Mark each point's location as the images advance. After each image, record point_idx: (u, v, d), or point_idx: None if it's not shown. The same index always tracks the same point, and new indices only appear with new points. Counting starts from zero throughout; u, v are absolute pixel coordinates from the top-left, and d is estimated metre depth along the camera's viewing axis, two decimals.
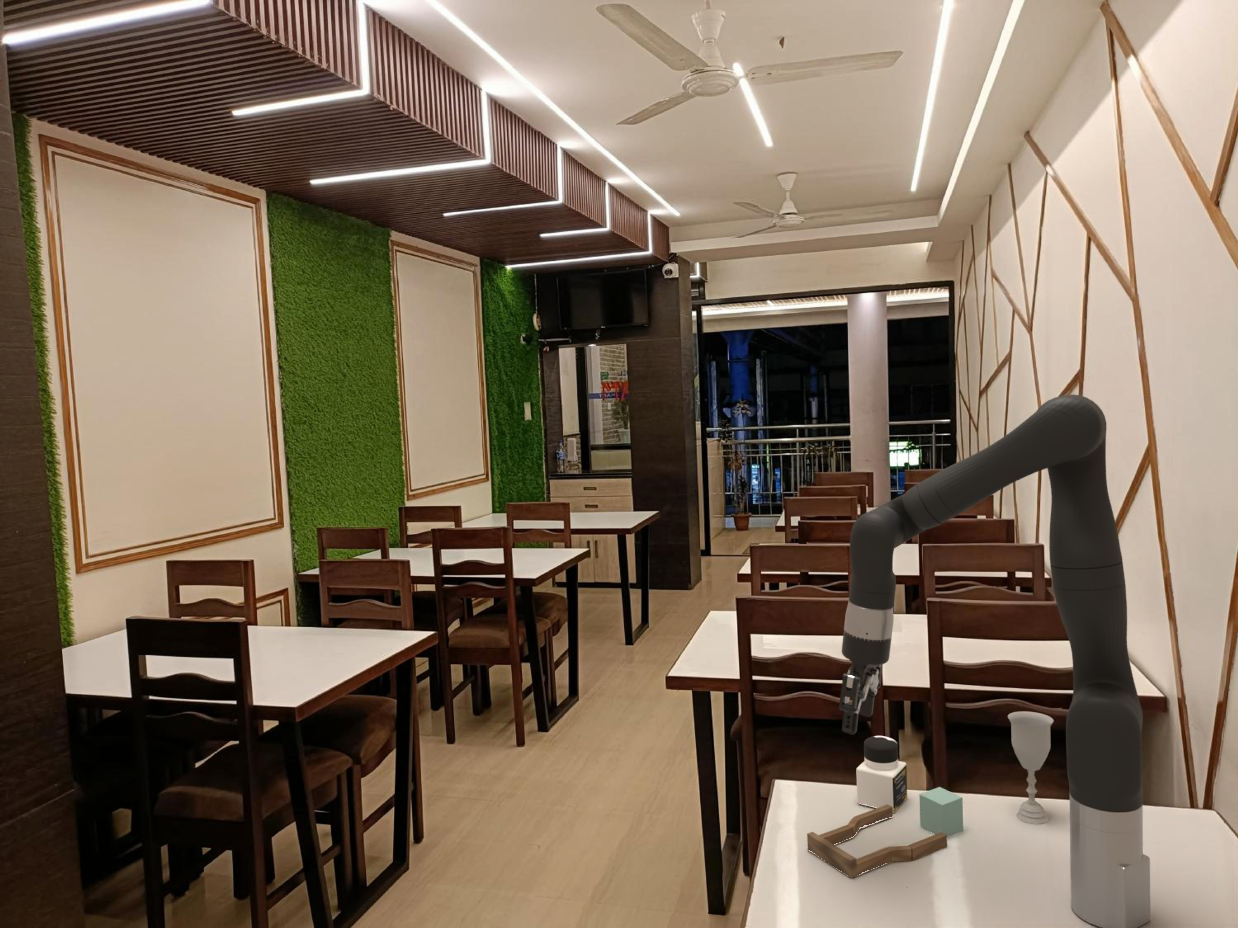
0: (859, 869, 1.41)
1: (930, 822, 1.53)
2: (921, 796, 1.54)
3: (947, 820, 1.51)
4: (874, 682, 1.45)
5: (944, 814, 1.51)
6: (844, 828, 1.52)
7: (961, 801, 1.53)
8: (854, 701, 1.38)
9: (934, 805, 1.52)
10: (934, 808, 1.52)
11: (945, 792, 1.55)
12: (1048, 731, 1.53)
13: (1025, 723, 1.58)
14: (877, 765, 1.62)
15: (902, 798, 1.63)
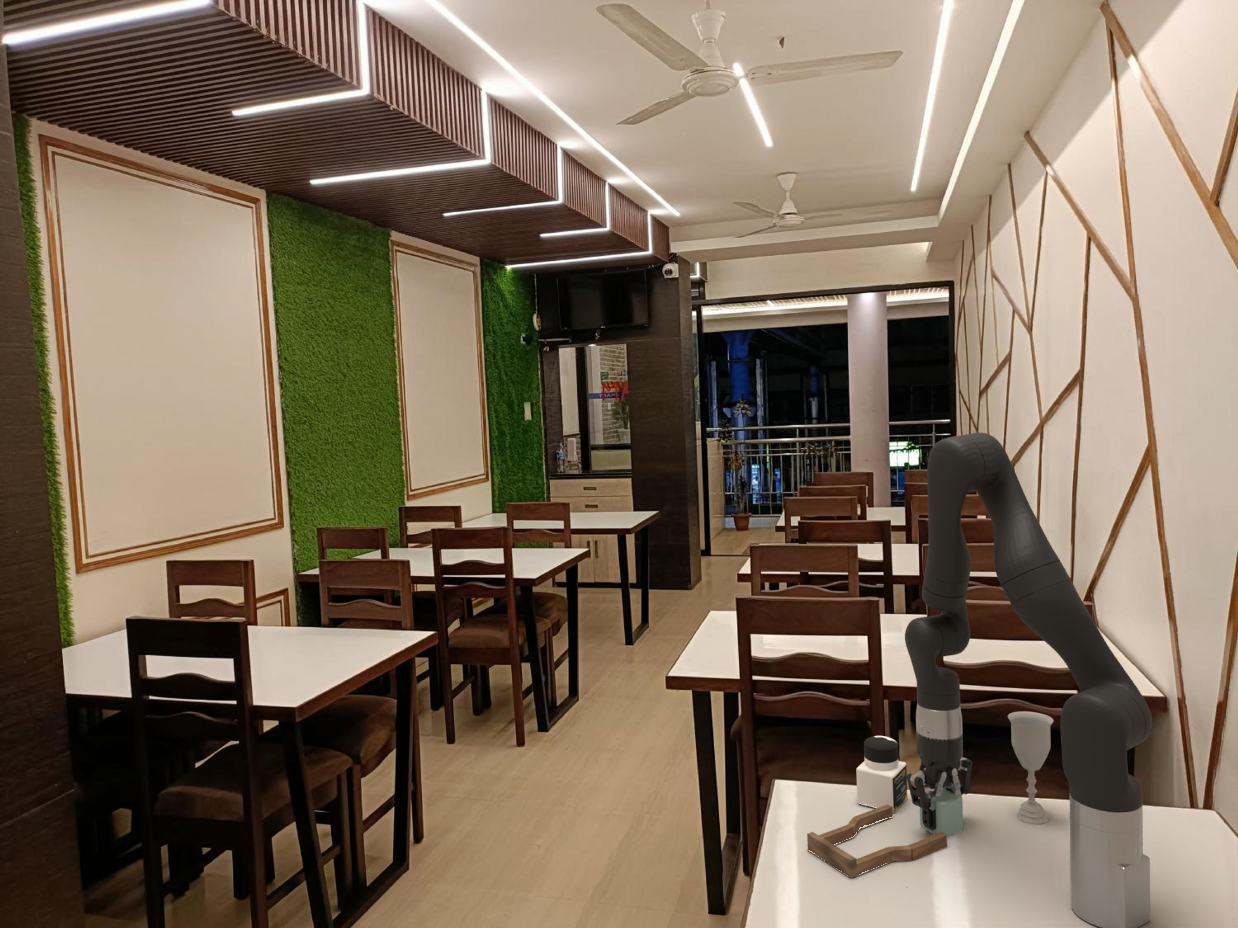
0: (859, 869, 1.41)
1: None
2: None
3: (947, 820, 1.51)
4: (952, 782, 1.53)
5: (944, 814, 1.51)
6: (844, 828, 1.52)
7: (961, 801, 1.53)
8: (921, 799, 1.50)
9: None
10: None
11: (945, 792, 1.55)
12: (1048, 731, 1.53)
13: (1025, 723, 1.58)
14: (877, 765, 1.62)
15: (902, 798, 1.63)
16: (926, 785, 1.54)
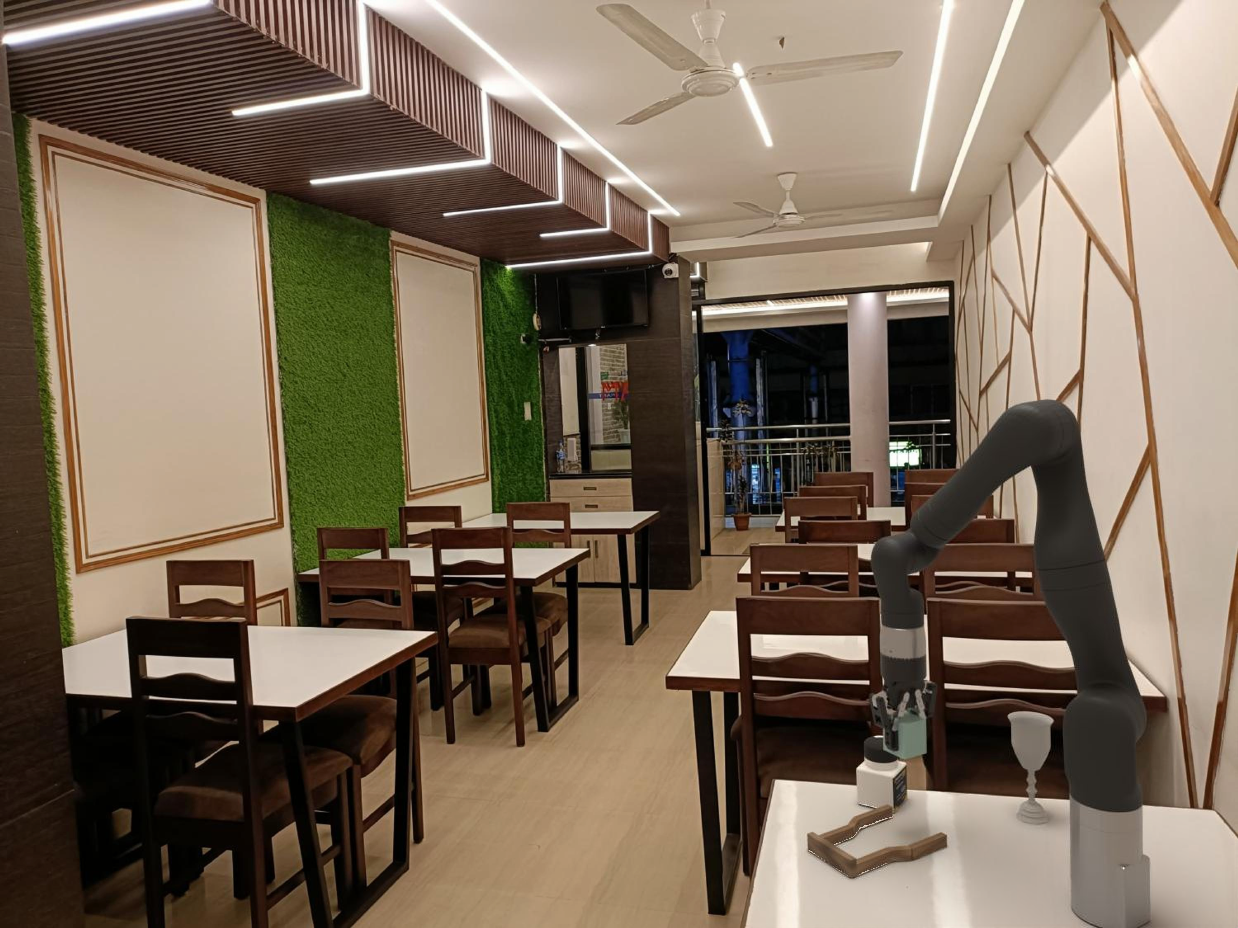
0: (859, 869, 1.41)
1: None
2: None
3: (909, 741, 1.49)
4: (916, 704, 1.51)
5: (906, 734, 1.49)
6: (844, 828, 1.52)
7: (924, 723, 1.50)
8: (882, 719, 1.48)
9: None
10: None
11: (909, 714, 1.53)
12: (1048, 731, 1.53)
13: (1025, 723, 1.58)
14: (877, 765, 1.62)
15: (902, 798, 1.63)
16: (889, 707, 1.51)
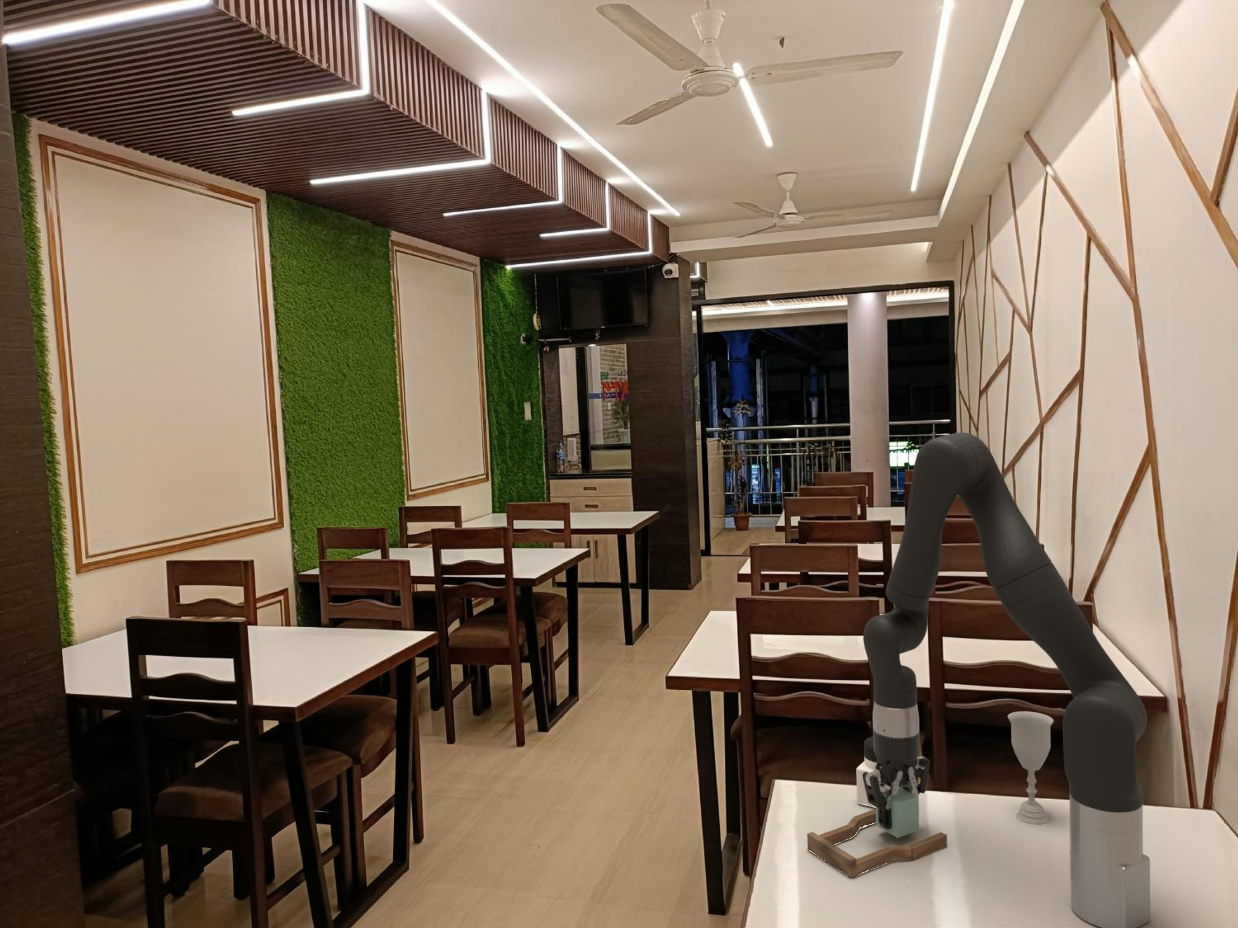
0: (859, 869, 1.41)
1: None
2: None
3: (902, 819, 1.49)
4: (909, 781, 1.51)
5: (900, 813, 1.49)
6: (844, 828, 1.52)
7: (917, 800, 1.51)
8: (876, 798, 1.48)
9: None
10: None
11: (901, 791, 1.53)
12: (1048, 731, 1.53)
13: (1025, 723, 1.58)
14: None
15: None
16: (882, 784, 1.52)
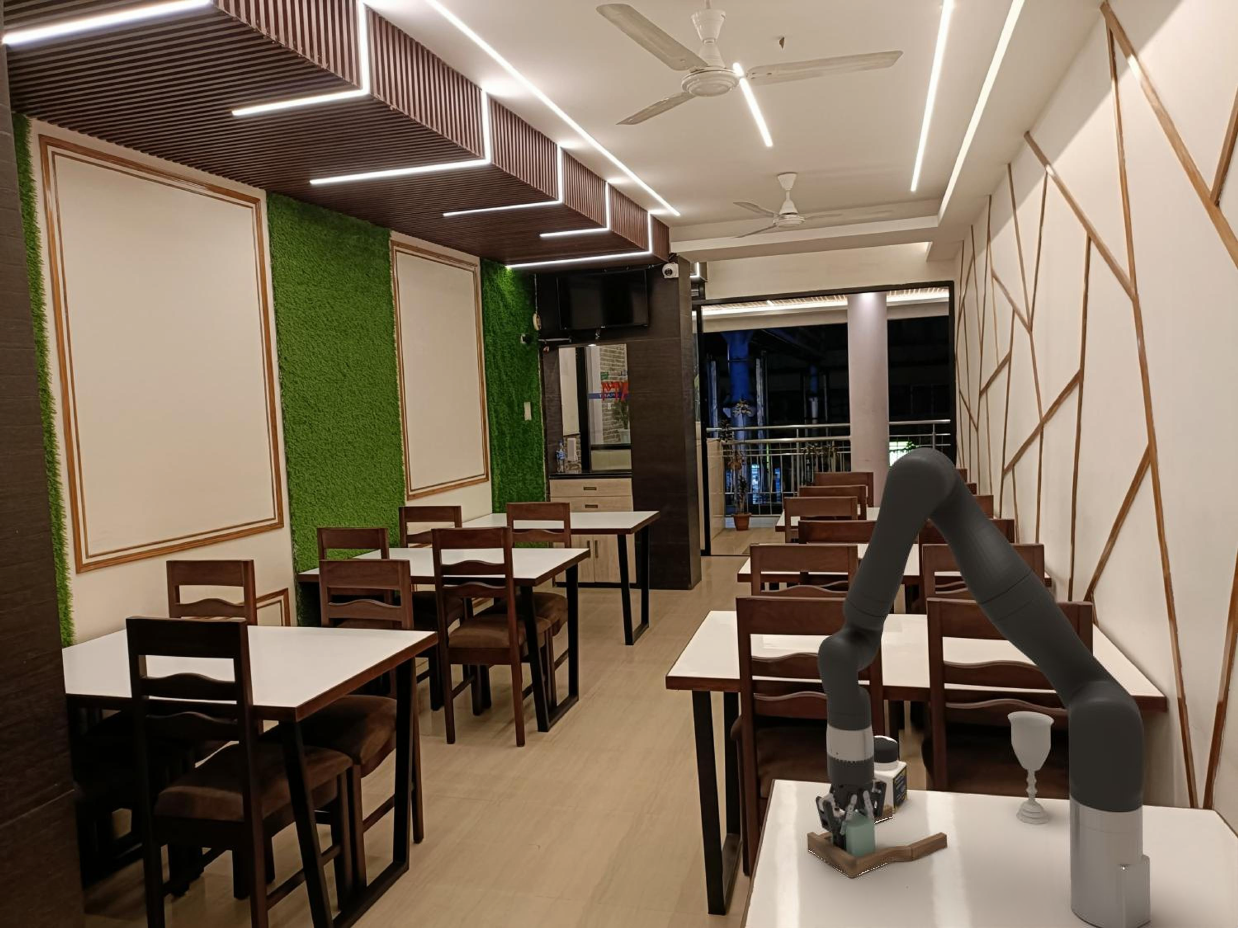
0: (859, 869, 1.41)
1: None
2: None
3: (857, 845, 1.44)
4: (864, 805, 1.46)
5: (854, 838, 1.44)
6: None
7: (872, 825, 1.46)
8: (829, 824, 1.43)
9: None
10: None
11: (857, 815, 1.48)
12: (1048, 731, 1.53)
13: (1025, 723, 1.58)
14: (877, 765, 1.62)
15: (902, 798, 1.63)
16: (837, 808, 1.47)
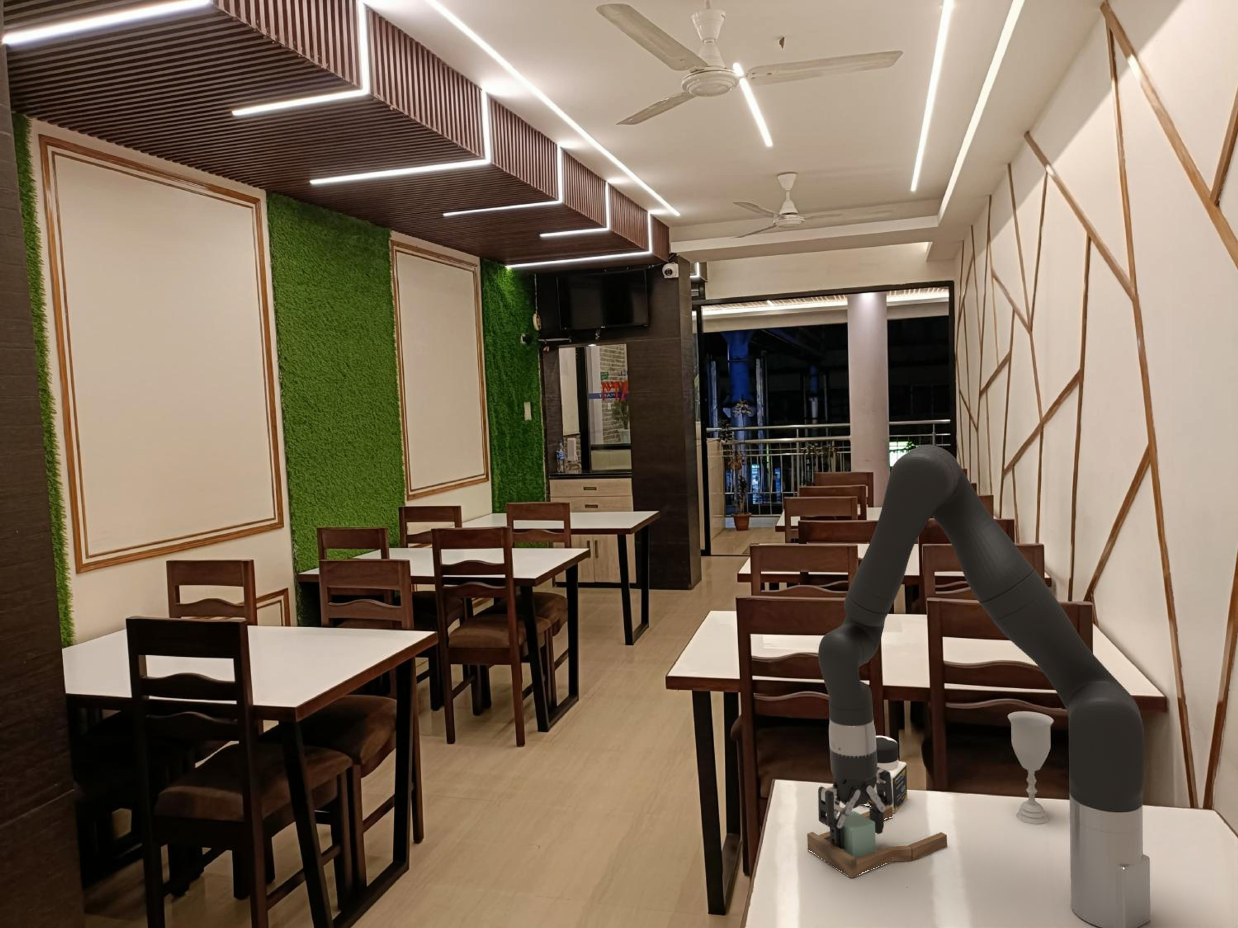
0: (859, 869, 1.41)
1: None
2: None
3: (858, 846, 1.44)
4: (871, 798, 1.46)
5: (855, 840, 1.44)
6: None
7: (873, 826, 1.46)
8: (828, 815, 1.43)
9: (844, 831, 1.45)
10: (845, 834, 1.45)
11: (858, 816, 1.48)
12: (1048, 731, 1.53)
13: (1025, 723, 1.58)
14: (877, 765, 1.62)
15: (902, 798, 1.63)
16: (837, 803, 1.46)
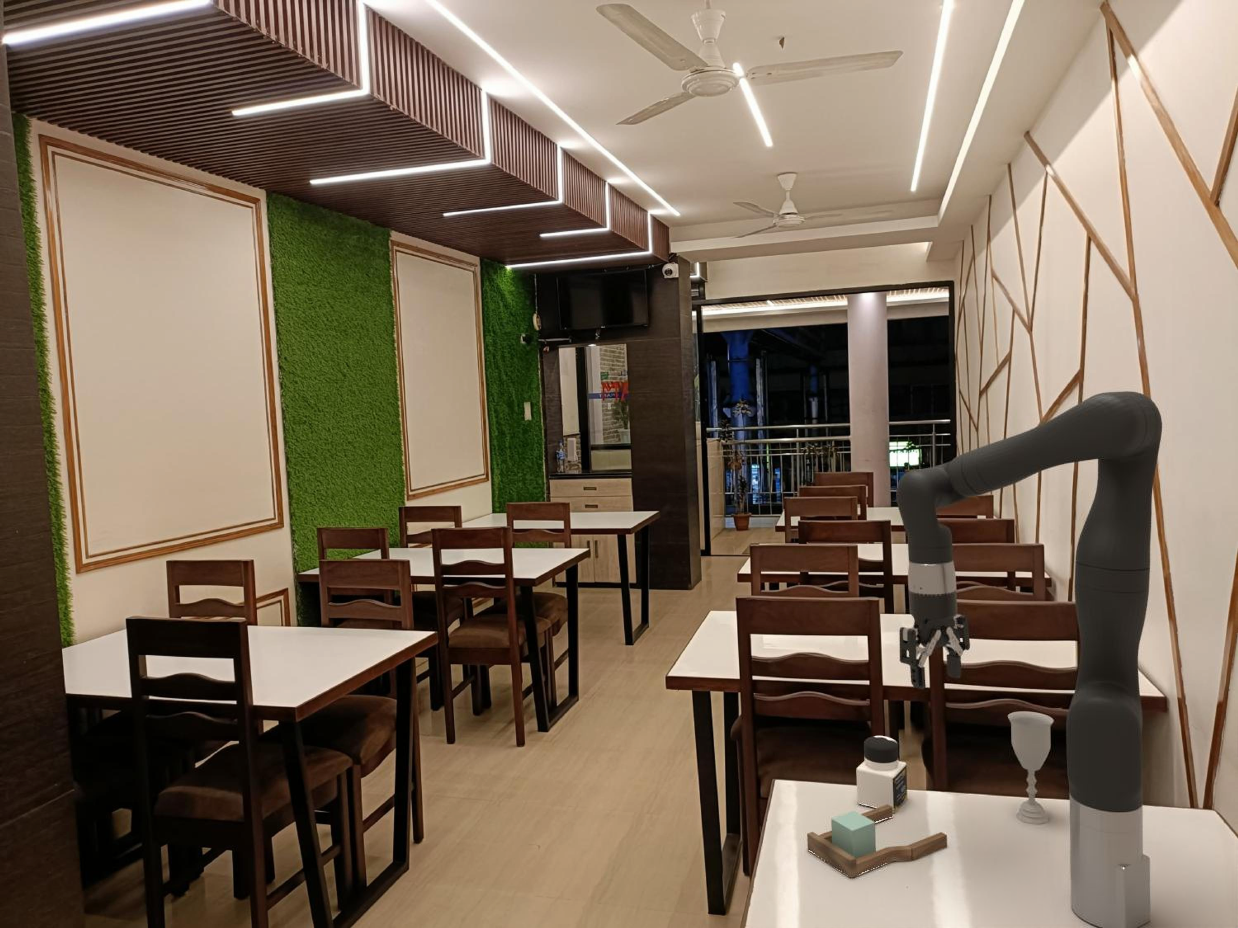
0: (859, 869, 1.41)
1: (841, 847, 1.46)
2: (833, 820, 1.48)
3: (858, 846, 1.44)
4: (950, 640, 1.48)
5: (855, 840, 1.44)
6: None
7: (873, 826, 1.46)
8: (910, 653, 1.44)
9: (844, 831, 1.45)
10: (845, 834, 1.45)
11: (858, 816, 1.48)
12: (1048, 731, 1.53)
13: (1025, 723, 1.58)
14: (877, 765, 1.62)
15: (902, 798, 1.63)
16: (917, 645, 1.47)
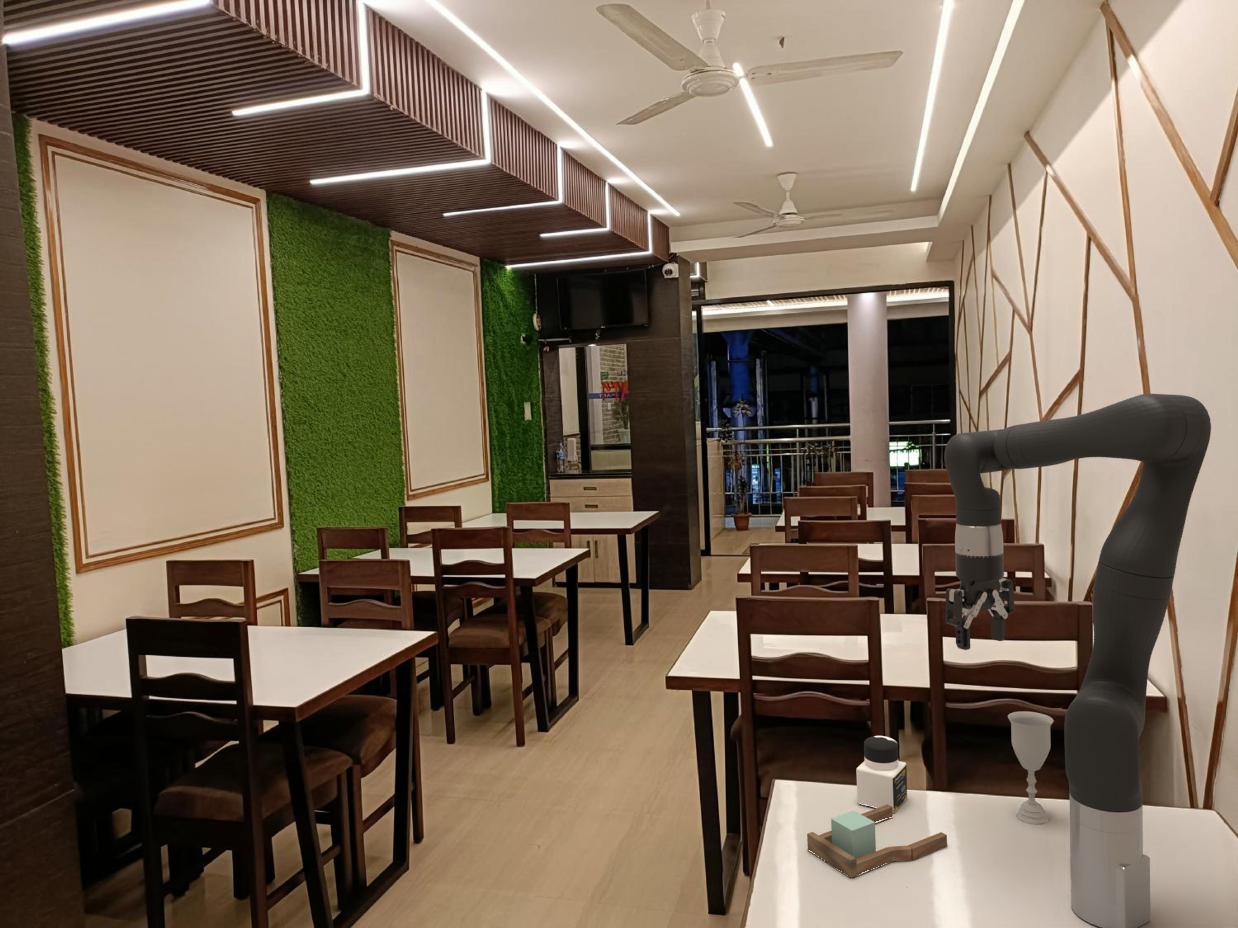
0: (859, 869, 1.41)
1: (841, 848, 1.46)
2: (833, 821, 1.48)
3: (858, 846, 1.44)
4: (995, 603, 1.49)
5: (855, 840, 1.44)
6: None
7: (873, 826, 1.46)
8: (956, 614, 1.45)
9: (844, 831, 1.45)
10: (845, 834, 1.45)
11: (858, 816, 1.48)
12: (1048, 731, 1.53)
13: (1025, 723, 1.58)
14: (877, 765, 1.62)
15: (902, 798, 1.63)
16: (962, 607, 1.49)
